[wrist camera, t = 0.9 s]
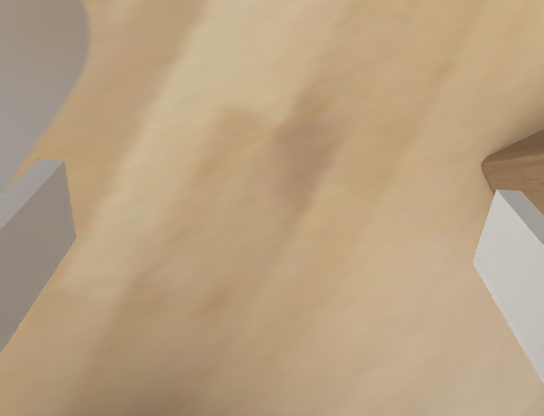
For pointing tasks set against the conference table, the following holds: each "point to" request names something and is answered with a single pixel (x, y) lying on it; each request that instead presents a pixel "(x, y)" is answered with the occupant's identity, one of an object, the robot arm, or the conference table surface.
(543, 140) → the wooden block
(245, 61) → the conference table surface
